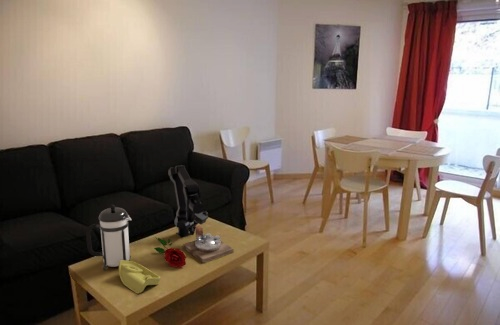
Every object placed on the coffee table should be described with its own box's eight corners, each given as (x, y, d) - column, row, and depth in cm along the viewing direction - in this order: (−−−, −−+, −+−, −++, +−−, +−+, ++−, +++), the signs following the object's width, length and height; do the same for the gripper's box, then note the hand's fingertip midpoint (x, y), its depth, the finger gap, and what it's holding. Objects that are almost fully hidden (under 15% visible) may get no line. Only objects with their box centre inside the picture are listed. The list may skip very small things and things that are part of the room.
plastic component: (162, 278, 164) (145, 278, 155) (156, 294, 163) (139, 295, 155) (134, 260, 175) (117, 260, 167) (128, 276, 174) (111, 276, 166)
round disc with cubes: (225, 248, 192) (225, 235, 190) (202, 254, 185) (202, 241, 183) (208, 234, 207) (208, 223, 205) (186, 240, 200) (186, 228, 198)
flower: (150, 227, 193) (180, 253, 172) (164, 230, 200) (195, 256, 179) (142, 243, 193) (172, 271, 172) (157, 246, 200) (187, 273, 179)
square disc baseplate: (183, 247, 196) (183, 244, 196) (212, 238, 207) (212, 235, 207) (203, 263, 181) (203, 259, 181) (233, 252, 192) (233, 248, 192)
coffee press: (121, 252, 190) (116, 196, 183) (139, 263, 180) (136, 204, 173) (88, 265, 177) (82, 206, 170) (106, 277, 167) (101, 215, 160)
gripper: (193, 216, 182) (193, 245, 186) (214, 204, 198) (214, 231, 202) (175, 211, 187) (176, 240, 191) (197, 200, 203) (198, 227, 207)
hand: (192, 234), depth 197 cm, fingers closed
